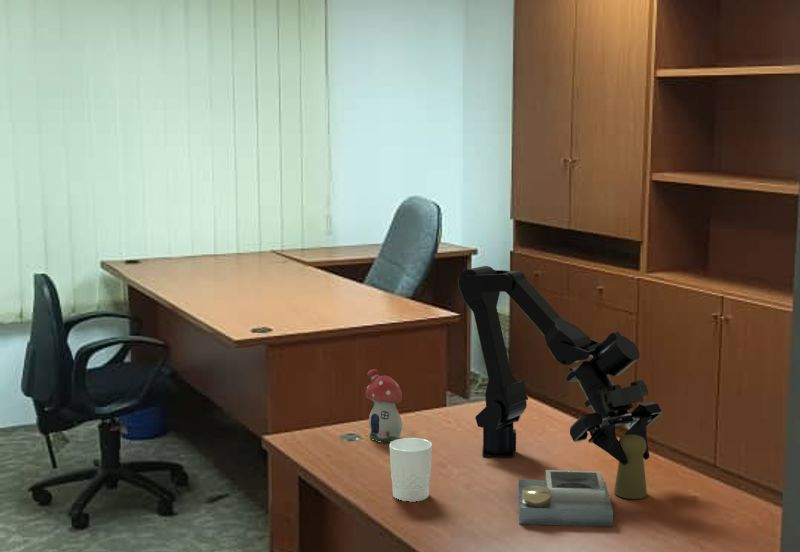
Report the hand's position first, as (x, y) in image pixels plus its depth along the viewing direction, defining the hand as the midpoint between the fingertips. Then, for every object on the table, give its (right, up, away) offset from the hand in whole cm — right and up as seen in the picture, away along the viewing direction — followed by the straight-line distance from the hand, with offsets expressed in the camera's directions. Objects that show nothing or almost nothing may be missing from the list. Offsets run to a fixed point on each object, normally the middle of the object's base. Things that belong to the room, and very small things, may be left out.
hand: (636, 461), depth 196 cm
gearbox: (-14, -8, -5) cm, 17 cm away
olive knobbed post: (-1, -7, +2) cm, 7 cm away
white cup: (-42, -7, +2) cm, 42 cm away
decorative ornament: (-47, -2, +37) cm, 60 cm away
